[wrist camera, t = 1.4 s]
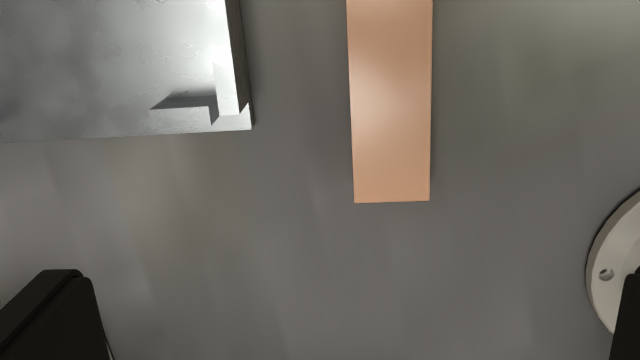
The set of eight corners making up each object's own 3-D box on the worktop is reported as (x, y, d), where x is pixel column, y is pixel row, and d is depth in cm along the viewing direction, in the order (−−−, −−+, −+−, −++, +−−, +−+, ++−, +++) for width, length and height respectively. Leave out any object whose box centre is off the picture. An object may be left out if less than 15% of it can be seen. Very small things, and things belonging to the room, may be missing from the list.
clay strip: (425, -86, 26) (434, -93, 23) (422, 179, 31) (429, 200, 28) (343, -80, 26) (342, -86, 23) (354, 182, 31) (354, 203, 28)
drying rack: (231, -71, 26) (214, -77, 23) (254, 124, 30) (243, 143, 26) (-129, -41, 27) (-194, -43, 24) (-64, 142, 31) (-111, 162, 28)
